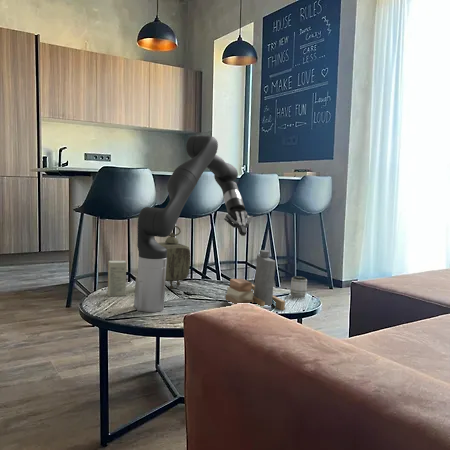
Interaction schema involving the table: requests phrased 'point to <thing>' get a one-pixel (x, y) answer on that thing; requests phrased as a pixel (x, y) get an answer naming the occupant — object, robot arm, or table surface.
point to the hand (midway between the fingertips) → (243, 234)
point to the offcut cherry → (240, 285)
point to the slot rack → (279, 302)
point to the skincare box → (116, 278)
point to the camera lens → (298, 286)
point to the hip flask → (264, 277)
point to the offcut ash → (239, 294)
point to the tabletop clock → (176, 259)
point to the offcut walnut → (237, 301)
